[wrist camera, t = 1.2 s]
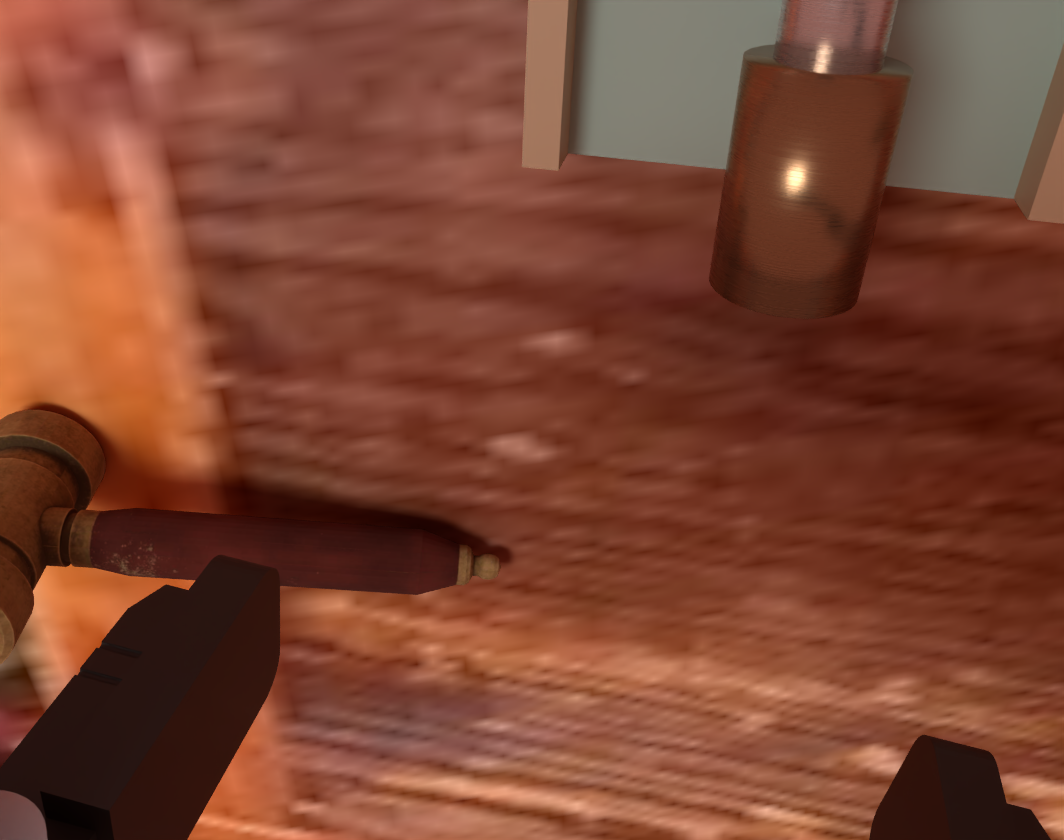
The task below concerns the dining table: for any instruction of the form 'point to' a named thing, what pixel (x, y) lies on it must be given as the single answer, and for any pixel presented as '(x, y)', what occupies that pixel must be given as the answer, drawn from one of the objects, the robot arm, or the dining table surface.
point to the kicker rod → (809, 159)
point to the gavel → (182, 532)
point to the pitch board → (752, 20)
